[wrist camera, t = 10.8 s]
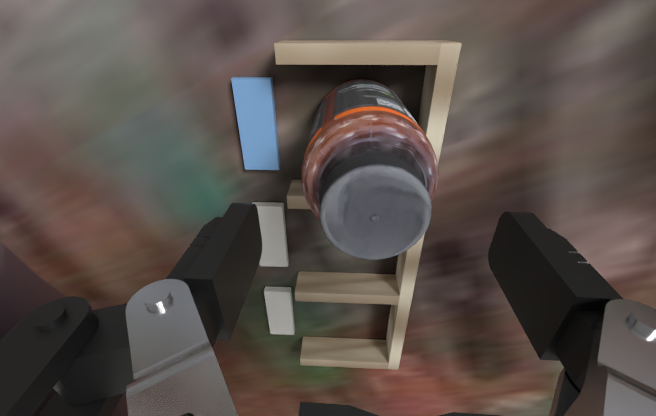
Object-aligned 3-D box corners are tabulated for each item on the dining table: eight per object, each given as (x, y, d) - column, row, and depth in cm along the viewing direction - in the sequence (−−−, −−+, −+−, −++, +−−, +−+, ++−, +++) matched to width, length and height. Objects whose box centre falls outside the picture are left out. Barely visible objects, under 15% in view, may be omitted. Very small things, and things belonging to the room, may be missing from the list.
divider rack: (282, 40, 18) (274, 43, 16) (447, 40, 18) (461, 43, 16) (303, 342, 33) (300, 365, 31) (394, 346, 32) (398, 369, 30)
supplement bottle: (325, 173, 23) (311, 289, 13) (304, 89, 20) (264, 156, 10) (409, 157, 22) (462, 270, 12) (400, 66, 19) (460, 117, 9)
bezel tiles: (234, 76, 19) (231, 78, 19) (272, 77, 19) (270, 78, 19) (271, 328, 32) (270, 333, 31) (294, 329, 32) (294, 334, 31)
